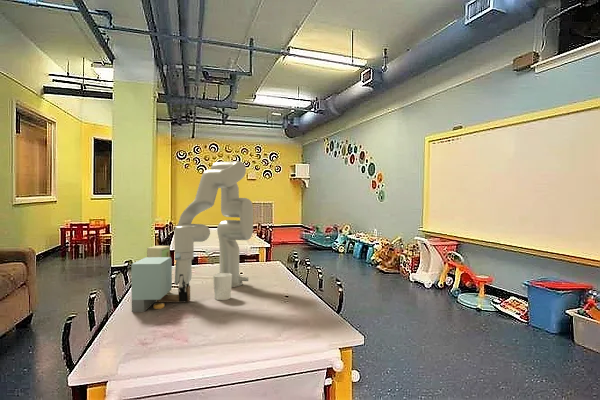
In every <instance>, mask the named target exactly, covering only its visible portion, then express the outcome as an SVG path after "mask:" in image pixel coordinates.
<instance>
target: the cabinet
mask: <svg viewBox="0 0 600 400" xmlns="http://www.w3.org/2000/svg"><path fill="white" fill-rule="evenodd" d="M172 261H173V259H172V257H171V256H170V257H147V256H146V257H143V258H142V259H140V260H136V261H135V262H133V263H131V265H130V266H131V277H130V278H131V312H132V313H137V312H138V313H143V312H145V311H147V309H150V307H151V306H152V305H154V304H155V303H156V300H160V299H161V298H162V297H163V296H165V295H168V294H169V293H170V292H169V291H171V290H172V289H173V281H172V280H173V276H172V275H173V273H172V272H173V268H172V266H173V265H172V264H173V263H172Z"/></svg>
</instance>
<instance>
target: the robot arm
mask: <svg viewBox="0 0 600 400" xmlns="http://www.w3.org/2000/svg"><path fill="white" fill-rule="evenodd" d="M210 168H211V169H206V170H205V171H204V172H202V175H201V178H200V181H199V183H198V188H197V191H196V195H195V198H194V199H193V201H192V202H191V203H189V205H187V207H186V208H185V209H184V210H183V211H182V213H181V215H180V217H179V220H178V223H177V226H175V228H174V243H173V244H174V261H175V269H174V270H175V271H174V285H176V286H177V285H178V287H179V302H178V303H188V302H187V292H186V291H187V285H190V283H191V281H192V274H193V272H192V268H193V266H192V261H193V260H194V259H195V257H194V255H195V253H194V251H195V250H194V246H195V245H194V243H199V242H200V243H201V242H202V243H203V242H205V241H207V240H209V237H211V236H210V235H211V230H210V228H209V227H208V225H206V224H202V223H192V222H193V220H194V219H195V218H196V216H198V215H199V214H201V213H202V212H205V211H207V210H208V209H210V208H212V207H213V206H214V205H215V202H216V198H217V194H218V191H219V189H220V192H221V193H220V212H221V215H222V216H224V217H226V218H239V220H237V219H235V220H234V219H226V220H222V221H220V222H219V223H218V225H217V229H216V230H217V231H216V232H217V236H218V237H217V238H218V243H219V273H230V274H232V286H231V288H234V287H235V288H236V287H240V286H242V285H243V282H249V276H248V277H247V276H241V274H240V246H239V243H238V242H237V241H248V240H250V239H251V238H252V236H253V233H254V206H253V205H254V204H253V202H252V200H251V199H249V198H247V197H240V195H239V194H240V191H239V184H238V183H239V182H240V181H241V180H242V179H243V178H244V177H245V176H246V172H247V168H246V165H245V164H244V163H243V162H241V161H237V160H235V161H233V160H232V161H218V162H214V163H212V165H211V166H210ZM183 286H185V287H183Z"/></svg>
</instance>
